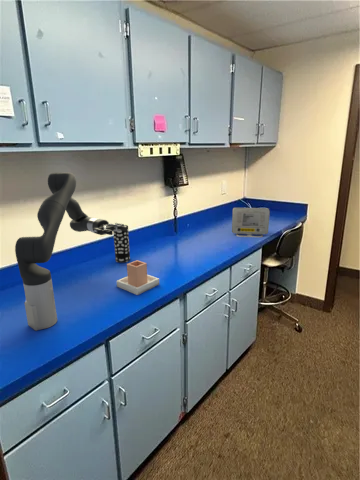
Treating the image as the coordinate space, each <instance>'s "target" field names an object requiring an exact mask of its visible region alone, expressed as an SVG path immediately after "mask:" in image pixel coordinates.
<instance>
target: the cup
mask: <svg viewBox="0 0 360 480" xmlns="http://www.w3.org/2000/svg"><path fill="white" fill-rule="evenodd" d="M147 266H148V264H147V262H144V261H141V260H138V259H137V260H134V261H132V262H129V263H128V262H127V263H126V270H127V271H126V272H127V276H128V284H130V285H132V286H135V287H140V286H142V285H144V284H146V283H148V282H147V275H148V267H147Z"/></svg>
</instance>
